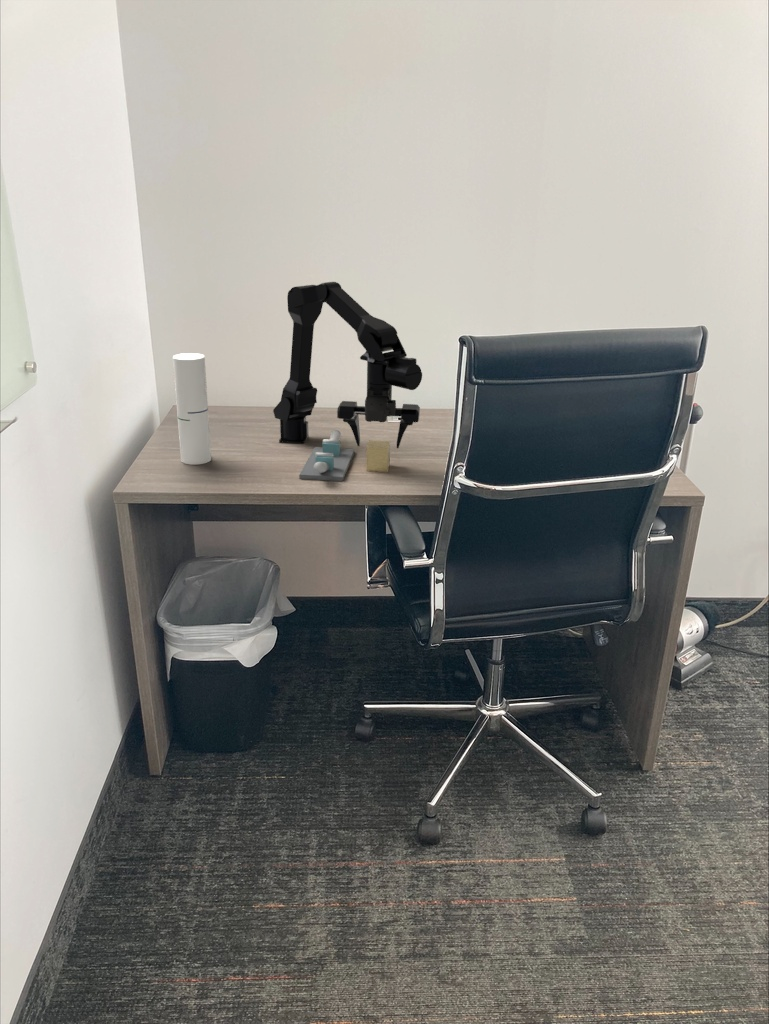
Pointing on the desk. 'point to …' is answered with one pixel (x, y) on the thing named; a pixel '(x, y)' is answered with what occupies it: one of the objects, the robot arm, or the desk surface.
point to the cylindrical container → (192, 408)
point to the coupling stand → (328, 460)
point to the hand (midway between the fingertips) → (378, 446)
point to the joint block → (378, 456)
